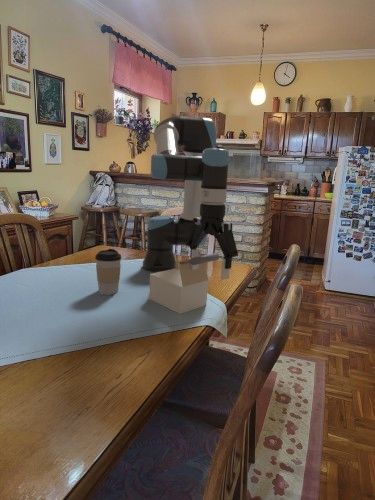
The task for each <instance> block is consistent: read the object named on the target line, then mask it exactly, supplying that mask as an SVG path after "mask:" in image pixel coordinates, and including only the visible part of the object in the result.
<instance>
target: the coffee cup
mask: <svg viewBox="0 0 375 500" xmlns="http://www.w3.org/2000/svg"><path fill="white" fill-rule="evenodd" d="M94 259H95V264H96V265H95V269H96V280H97V287H98V293H99V292H100V294H101V293H102V295H106V294H110V295H114V293H115V294H118V293H119V285H120V277H121V266H122V264H121V261H122V255H121V253H119V251H118V250H116V249H114V248H108V249H104V250H99V251H98V252H97V253H96V254H95V258H94Z"/></svg>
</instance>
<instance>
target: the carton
mask: <svg viewBox="0 0 375 500" xmlns="http://www.w3.org/2000/svg"><path fill="white" fill-rule="evenodd" d="M208 285H209V279H208V280H207V281H203V282H200V283H196V284H192V285H188V286H185V287H183V286H182V280H181V275H180V269H179V268H176V269H171V270H166V271H161V272H152V273H150V274H149V300H150V301H153V302H155V303H157V304H159V305H161V306H163V307H166V308H167V309H169V310H172V311H173V312H175V313H178V314H179V315H181V314H184V313H187V312H191V311H193V310H196V309H199V308H202V307H205V306H207V301H208V287H209V286H208Z"/></svg>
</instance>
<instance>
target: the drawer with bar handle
mask: <svg viewBox="0 0 375 500" xmlns="http://www.w3.org/2000/svg"><path fill="white" fill-rule="evenodd" d="M218 260H220V255H219V253H218V252H215V253H210V254H205V255H201V256H200V255H199V257H194V258H190V259H184V260H179V261H177V264H178V269H179V270H180V275H181V280H182V286H183V287H185V286H188V285H192V284H196V283H200V282H203V281H207V280H208V281H209V278H208V271H207V266H206V263H210V262H214V261H215V262H216V261H218ZM191 264H192V265H196V264H199V269H194V270H191Z"/></svg>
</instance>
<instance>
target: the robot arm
mask: <svg viewBox="0 0 375 500" xmlns="http://www.w3.org/2000/svg"><path fill="white" fill-rule="evenodd" d="M153 138H154V143H155V144H156V153H154V154H151V156H150V177H151V178H153V179H155V180H157V179H158V180H173V181H184V193H183V206H182V208H183V209H182V212H181V213H180V214H179V216H178V218H175V215H172V214H171V215H170V214H169V215H168V214H167V215H166V214H165V215H164V214H163V215H156V216H152V217H150V218H149V219H148V220H147V228H146V230H147V235H146V237H147V240H146V241H147V243H146V253H145V256H144V259H143V261H142V268H143V269H144V270H147V271H151V272H154V273H157V272H161V271H166V270H171V269H177V261H176V258H175V253H174V246H187V247H189V249H190V251H189V253H190V254H189V257H190V259H191V258H194V257H199V256H200V248H199V247H200V246H204V245H205V243H206V242H207V238H208V235H210V236H213V237H214V239H216V242H217V243H218V246H219V248H220V250H221V252H222V254H223V256H224V257H222V258H221V269H220V270H221V272H220V281H221V280H222V281H225V280H227V279H229V277H230V269H231V268H232V264H233V263H232V262H233V261H232V259H233V258H237V257H238V256H239V252H238V247H237V244H236V241H235V235H234V232H233V223H232V222H225V221H224V218H225V216H226V205H225V204H226V202H227V189H228V173H229V172H228V171H229V163H230V160H229V150H227V149H225V148H216V144H217V130H216V124H215V122H214V120H213V119H212V118H208V117H196V116H195V117H194V116H192V117H191V116H178V115H175V116H170V117H168V118H165V119H164V120H162V121H161V122H158V124H157V125H156V127H155V129H154V132H153ZM179 147H180V148H182V152H183V154H185V155H180V150H179ZM194 269H199V264H196V265H192V264H191V270H194Z"/></svg>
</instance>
